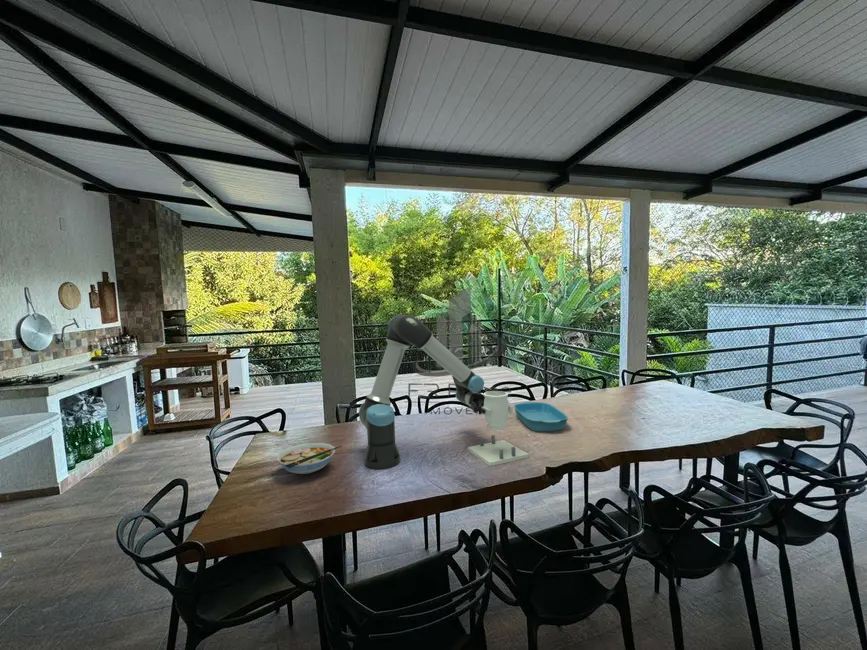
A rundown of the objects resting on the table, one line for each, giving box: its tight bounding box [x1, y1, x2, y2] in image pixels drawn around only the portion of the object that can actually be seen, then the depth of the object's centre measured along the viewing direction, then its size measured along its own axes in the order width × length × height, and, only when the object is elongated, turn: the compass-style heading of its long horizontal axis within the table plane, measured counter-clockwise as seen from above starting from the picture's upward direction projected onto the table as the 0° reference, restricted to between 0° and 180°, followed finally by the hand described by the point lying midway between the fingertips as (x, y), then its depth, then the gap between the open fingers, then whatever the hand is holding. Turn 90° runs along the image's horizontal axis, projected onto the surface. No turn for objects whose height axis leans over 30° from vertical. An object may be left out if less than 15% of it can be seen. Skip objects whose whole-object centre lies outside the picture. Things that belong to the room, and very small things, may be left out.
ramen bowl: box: [276, 442, 342, 475], centre depth 158 cm, size 25×23×8 cm
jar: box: [483, 390, 509, 431], centre depth 167 cm, size 11×10×15 cm
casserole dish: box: [513, 401, 569, 433], centre depth 208 cm, size 37×22×7 cm, turn 5°
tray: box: [467, 434, 529, 467], centre depth 168 cm, size 19×19×5 cm
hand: (501, 411), depth 163 cm, fingers closed on jar, 10 cm apart
